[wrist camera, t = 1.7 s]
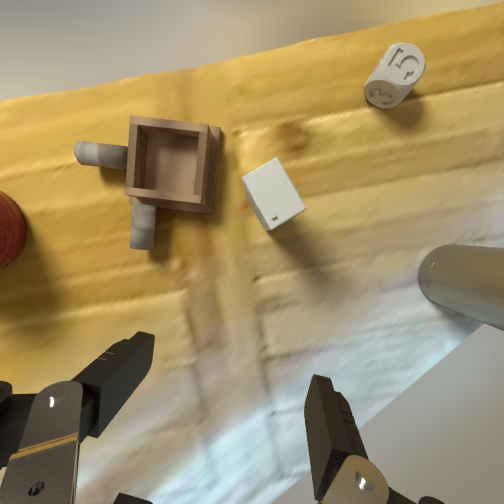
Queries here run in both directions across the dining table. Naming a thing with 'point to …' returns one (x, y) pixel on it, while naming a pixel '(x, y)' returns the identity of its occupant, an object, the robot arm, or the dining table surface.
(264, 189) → the skincare box
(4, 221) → the canister
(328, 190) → the dining table surface
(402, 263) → the dining table surface
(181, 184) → the block
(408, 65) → the die
